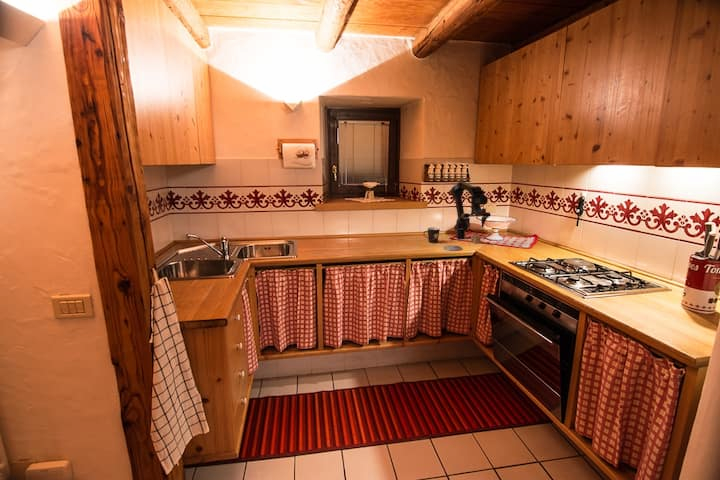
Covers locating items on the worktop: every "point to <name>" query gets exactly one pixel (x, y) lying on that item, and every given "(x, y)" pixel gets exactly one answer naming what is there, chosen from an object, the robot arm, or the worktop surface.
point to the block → (475, 239)
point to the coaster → (452, 248)
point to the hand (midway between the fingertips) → (475, 227)
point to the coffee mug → (433, 234)
